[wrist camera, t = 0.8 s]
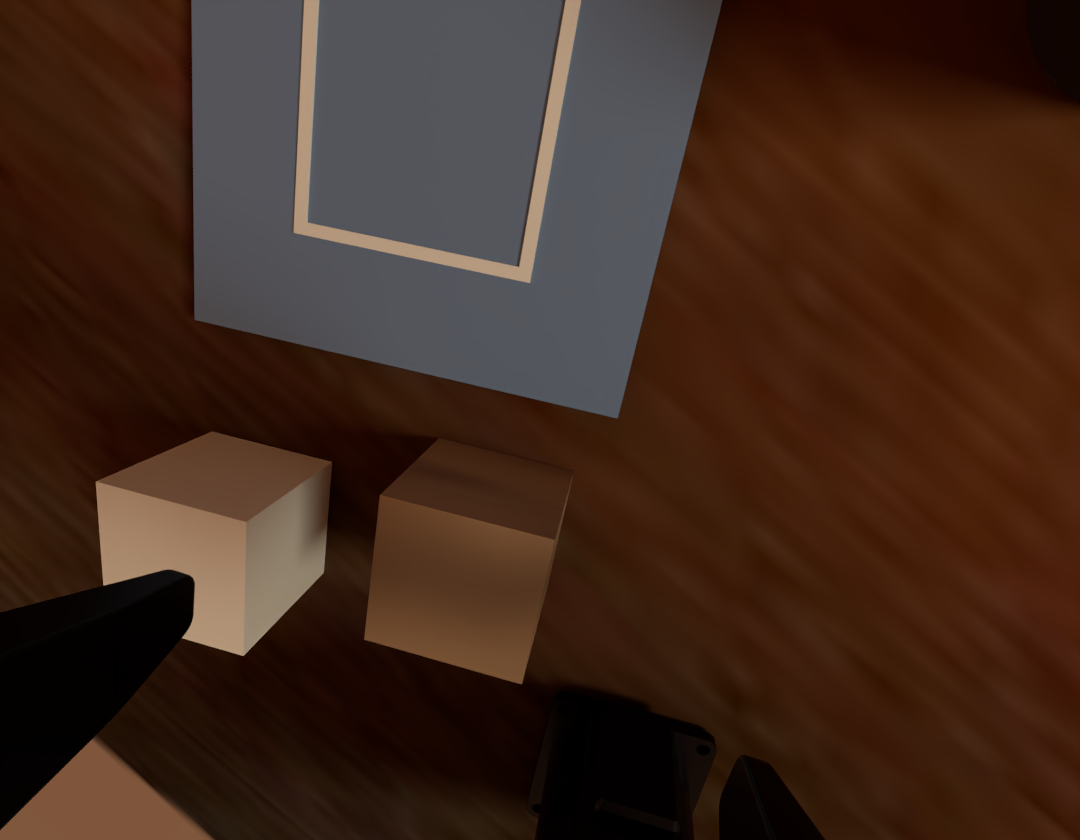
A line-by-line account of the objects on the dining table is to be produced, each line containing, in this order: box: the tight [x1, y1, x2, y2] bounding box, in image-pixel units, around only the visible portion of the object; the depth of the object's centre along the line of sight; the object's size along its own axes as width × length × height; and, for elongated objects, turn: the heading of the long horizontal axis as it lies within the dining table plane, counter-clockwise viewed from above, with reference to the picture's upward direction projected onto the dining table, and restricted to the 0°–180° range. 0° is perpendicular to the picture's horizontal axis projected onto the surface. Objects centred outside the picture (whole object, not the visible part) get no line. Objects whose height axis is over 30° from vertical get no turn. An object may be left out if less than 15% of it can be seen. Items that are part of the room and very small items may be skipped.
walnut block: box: [364, 438, 574, 684], centre depth 18 cm, size 5×5×5 cm
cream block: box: [96, 432, 332, 656], centre depth 20 cm, size 5×5×5 cm
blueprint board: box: [191, 0, 722, 418], centre depth 17 cm, size 15×15×1 cm
